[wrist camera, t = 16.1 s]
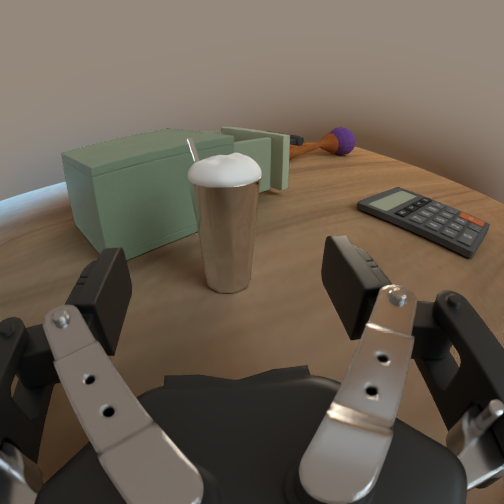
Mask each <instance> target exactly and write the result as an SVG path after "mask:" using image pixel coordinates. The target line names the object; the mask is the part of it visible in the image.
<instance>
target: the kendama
mask: <svg viewBox="0 0 504 504" xmlns="http://www.w3.org/2000/svg"><path fill="white" fill-rule="evenodd" d="M354 146H355V138H354V135H353V134H352V132H351V131H349V130H348V129H346V128H343V127H339V128H335V129H333V130H332V131H331V132H330V133H328V134H326V135H325V136H324V137H323V138H322V139H321V140H320V141H319V142H318V143H303V145H302V146H296V145H290V147H289V159H291V158H294V157H296V156H299V155H302V154H304V153H307V152H310V151H312V150H315V149H318V148H321V149H323V150H326V151H328V152H331V153H336V154H339V155H344V154H349V153H350V152H351V151H352V150H353V149H354Z"/></svg>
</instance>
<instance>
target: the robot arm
mask: <svg viewBox="0 0 504 504" xmlns="http://www.w3.org/2000/svg"><path fill="white" fill-rule="evenodd" d="M321 276H322V282H323V285H324V287H325V289H326V291H327V293H328V295H329V297H330V299H331V301H332V303H333V305H334V307H335V309H336V311H337V313H338V315H339V317H340V319H341V321H342V323H343V325H344V327H345V329H346V332H347V334H348V336H349V338H350V340H356V339H360V341H359V344H358V346H357V349H356V351H355V354H354V356H353V358H352V361H351V363H350V365H349V368H348V370H347V372H346V374H345V376H344V379H343V381H342V383H339V382H337V381H335V380H332V379H329V378H325V377H321V376H315V375H310V372H309V369H308V366H307V365H305V366H297V367H289V368H280V369H272V370H269V371H266V372H263V373H260V374H257V375H253V376H250V377H247V378H243V379H239V380H231V379H224V378H217V377H211V376H205V375H167V376H165V379H164V386H161V387H158V388H155V389H152V390H150V391H147V392H145V393H143V394H141V395H140V396H138V397H137V398H136V397H135V396H134V394H133V393H132V391H131V390H130V389H129V387H128V386H127V384H126V383H125V382H124V380H123V379H122V377H121V376H120V374H119V373H118V371H117V370H116V368H115V367H114V365H113V364H112V362H111V361H110V359H109V357H108V356H114V355H115V351H116V348H117V344H118V340H119V336H120V333H121V329H122V325H123V322H124V318H125V315H126V312H127V308H128V305H129V301H130V298H131V294H132V283H131V278H130V274H129V270H128V265H127V261H126V257H125V252H124V250H123V248H122V247H116V248H104V249H103V250H102V252H101V254H100V256H99V258H98V259H97V261H93V262H91V263H90V264H89V265H88V266H87V267H86V268H84V270H83V272H82V273H81V275H80V278H79V279H78V281H77V282H76V285H75V286H74V288H73V290H72V292H71V294H70V295H69V297H68V299H67V301H66V303H65V305H62V306H58V307H56V308H54V309H52V310H51V311H50V312H48V313H47V315H46V316H45V317H44V319H43V324H41V325H37V326H32V327H28V328H25V326H24V324H23V322H22V320H21V319H20V318H17V317H11V318H7V319H5V320H3V321H1V322H0V504H466V497H467V492H468V491H470V490H471V489H473V488H475V487H476V488H485V487H488V486H489V485H491V484H492V483H494V482H495V481H497V480H498V479H500V478H501V477H503V476H504V349H503V347H502V346H501V344H500V343H499V342H498V340H497V339H496V337H495V336H494V335H493V333H492V332H491V331H490V329H489V328H488V327H487V325H486V324H485V323H484V321H483V320H482V319H481V317H480V316H479V315H478V314H477V312H476V311H475V310H474V308H473V307H472V306H471V305H470V303H469V302H468V301H467V300H466V299H465V298H464V297H463V296H462V295H460V294H458V293H456V292H453V291H441V292H440V293H438V295H437V297H436V300H435V302H426V301H417V298H416V296H415V295H414V293H413V292H411V291H410V290H409V289H407V288H405V287H402V286H399V285H393V284H392V283H391V282H390V280H389V279H388V278H387V277H386V275H385V274H384V273H383V271H382V270H381V269H380V268H378V265H377V264H376V263H375V262H374V260H373V259H372V258H371V256H370V255H369V254H368V253H367V252H366V251H364V250H362V249H361V248H359V247H355V246H354V245H353V244H352V242H351V241H350V240H349V239H348V237H347V236H345V235H344V236H328V237H327V238H326V241H325V248H324V255H323V263H322V270H321ZM452 344H453V345H454V347H455V348H456V350H457V352H458V353H459V355H460V359H461V365H460V368H459V367H458V365H457V363H456V361H455V360H454V358H453V356H452V355H451V353H450V351H449V350H450V348H451V346H452ZM410 359H414V360H415V362H416V364H417V366H418V368H419V370H420V372H421V374H422V376H423V378H424V380H425V382H426V384H427V386H428V389H429V391H430V393H431V395H432V397H433V399H434V401H435V403H436V405H437V408H438V410H439V412H440V414H441V416H442V419H443V421H444V423H445V425H446V428H447V430H448V434H447V437H446V445H447V447H445V446H443V445H442V444H440V443H438V442H436V441H435V440H433V439H431V438H429V437H428V436H426V435H424V434H423V433H421V432H419V431H418V430H416V429H414V428H413V427H411V426H409V425H408V424H406V423H404V422H403V421H401V420H399V419H398V418H396V415H397V411H398V408H399V404H400V401H401V397H402V393H403V389H404V385H405V381H406V377H407V373H408V369H409V364H410ZM15 374H16V376H17V377H18V378H19V380H18V383H17V386H16V389H15V392H14V395H13V398H12V396H11V384H12V382H13V379H14V376H15ZM56 383H62V385H63V388H64V390H65V392H66V394H67V397H68V399H69V401H70V403H71V405H72V407H73V409H74V412H75V414H76V416H77V418H78V420H79V422H80V423H81V425H82V427H83V429H84V431H85V433H86V435H87V437H88V439H89V440H90V441H89V442H88V443H87V444H86V445H85V446H84V447H83V448H82V449H81V450H80V451H79V452H78V453H77V454H76V455H75V456H74V457H72V458H71V459H70V460H69V461H68V462H67V463H66V464H65V465H64V466H63V467H62V468H61V469H60V470H59V471H57V472H56V473H55V474H54V475H53V476H52V477H51V478H50V479H49V480H48V481H47V482H46V483H45V484H44V483H43V477H42V473H41V470H40V468H39V467H38V466H37V460H38V454H39V449H40V443H41V438H42V433H43V428H44V424H45V419H46V415H47V411H48V406H49V402H50V399H51V395H52V391H53V387H54V384H56Z"/></svg>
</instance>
